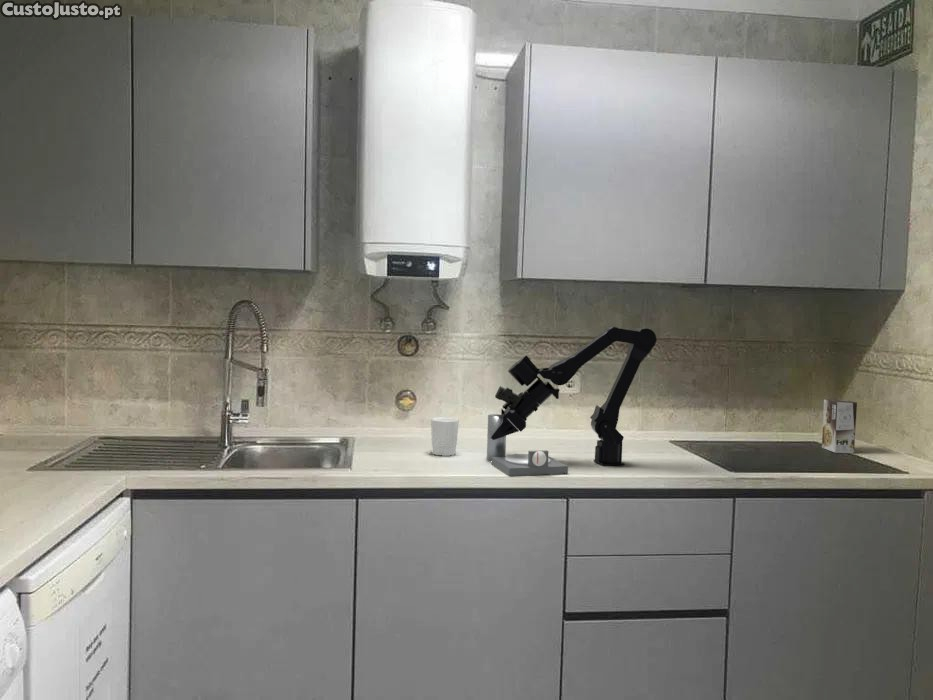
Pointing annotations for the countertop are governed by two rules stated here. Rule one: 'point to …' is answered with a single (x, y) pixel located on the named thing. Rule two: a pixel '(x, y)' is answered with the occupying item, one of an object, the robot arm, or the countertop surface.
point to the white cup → (444, 435)
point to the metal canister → (498, 445)
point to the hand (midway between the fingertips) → (491, 436)
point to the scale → (529, 464)
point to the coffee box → (839, 425)
